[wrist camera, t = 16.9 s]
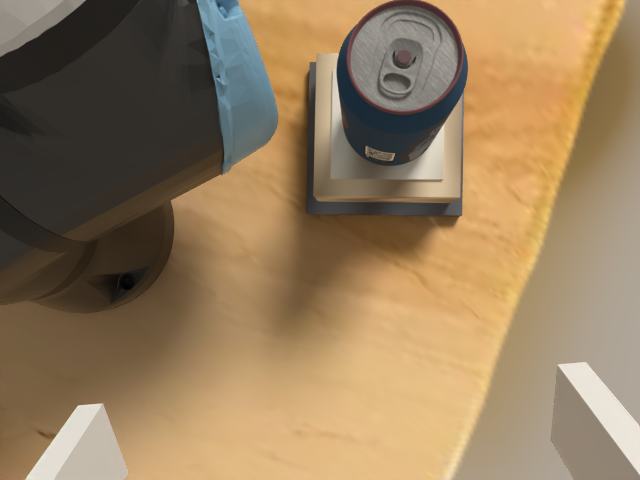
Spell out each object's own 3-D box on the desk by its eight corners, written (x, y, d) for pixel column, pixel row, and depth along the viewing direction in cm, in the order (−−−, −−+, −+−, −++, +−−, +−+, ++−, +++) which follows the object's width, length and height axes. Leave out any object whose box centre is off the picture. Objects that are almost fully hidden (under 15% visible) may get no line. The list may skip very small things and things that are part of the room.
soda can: (358, 68, 35) (356, -29, 23) (447, 91, 34) (494, 4, 22) (332, 155, 35) (317, 104, 23) (421, 180, 34) (453, 141, 22)
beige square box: (307, 213, 40) (299, 208, 35) (311, 67, 40) (303, 39, 35) (459, 216, 39) (474, 210, 34) (461, 65, 39) (477, 36, 34)
